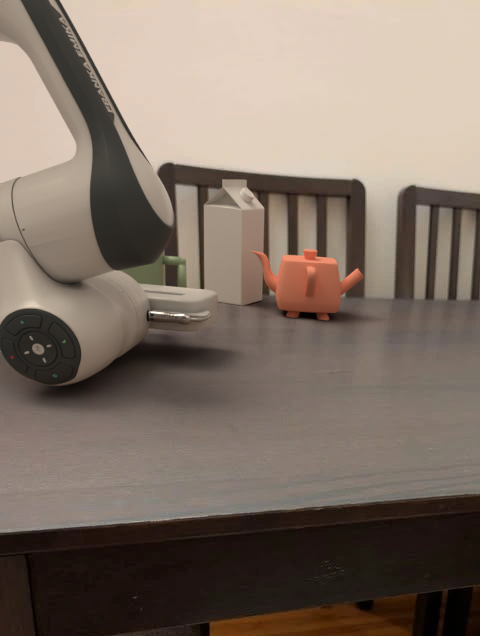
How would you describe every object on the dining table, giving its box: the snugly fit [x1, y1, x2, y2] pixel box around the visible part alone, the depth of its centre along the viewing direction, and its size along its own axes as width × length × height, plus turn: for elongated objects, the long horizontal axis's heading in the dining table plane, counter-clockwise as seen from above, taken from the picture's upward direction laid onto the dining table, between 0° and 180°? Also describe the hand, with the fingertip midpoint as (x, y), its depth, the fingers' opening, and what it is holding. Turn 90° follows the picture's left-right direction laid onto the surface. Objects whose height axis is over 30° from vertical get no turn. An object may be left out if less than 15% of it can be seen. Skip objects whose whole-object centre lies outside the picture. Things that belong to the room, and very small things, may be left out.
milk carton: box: [203, 179, 265, 306], centre depth 119 cm, size 7×7×19 cm
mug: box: [120, 249, 188, 288], centre depth 103 cm, size 13×12×11 cm
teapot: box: [252, 248, 365, 321], centre depth 115 cm, size 14×12×10 cm
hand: (146, 290), depth 89 cm, fingers closed
